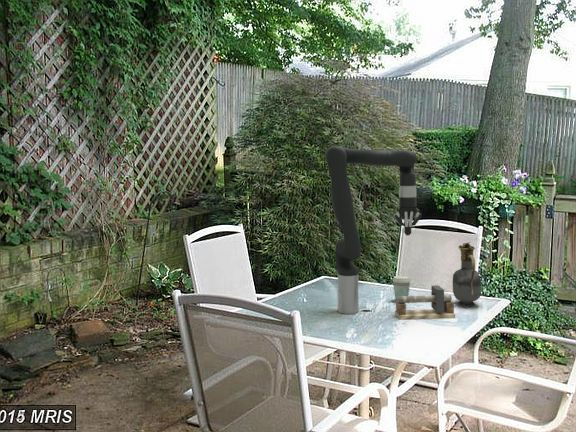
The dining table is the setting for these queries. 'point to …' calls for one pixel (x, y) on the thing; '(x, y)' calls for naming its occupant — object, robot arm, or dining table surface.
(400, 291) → the coffee cup
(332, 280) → the dining table surface
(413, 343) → the dining table surface
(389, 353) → the dining table surface
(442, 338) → the dining table surface
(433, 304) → the collar
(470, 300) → the dark grey bottle
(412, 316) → the pipe rig
